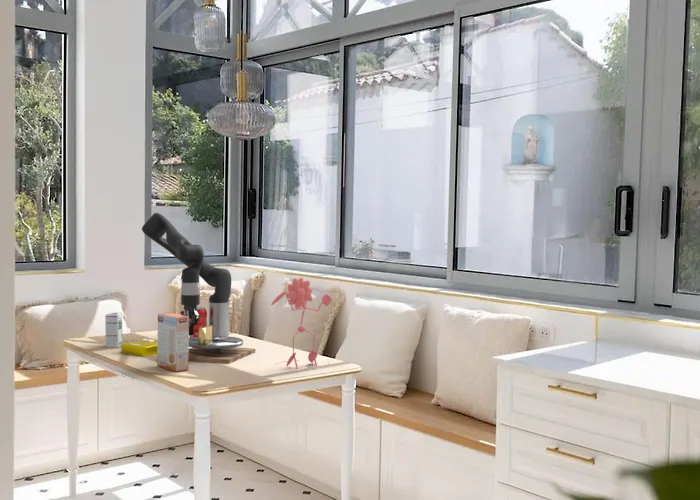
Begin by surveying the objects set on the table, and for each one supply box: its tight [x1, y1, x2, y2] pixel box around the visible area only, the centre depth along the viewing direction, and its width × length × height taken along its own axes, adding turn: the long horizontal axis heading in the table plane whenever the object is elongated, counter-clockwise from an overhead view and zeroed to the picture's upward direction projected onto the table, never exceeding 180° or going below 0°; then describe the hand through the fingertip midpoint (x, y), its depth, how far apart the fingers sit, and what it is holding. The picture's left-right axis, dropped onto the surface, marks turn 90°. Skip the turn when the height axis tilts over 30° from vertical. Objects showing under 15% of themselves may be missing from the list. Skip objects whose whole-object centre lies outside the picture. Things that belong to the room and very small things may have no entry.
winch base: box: [188, 346, 256, 364], centre depth 324 cm, size 27×26×5 cm
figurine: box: [270, 277, 332, 369], centre depth 309 cm, size 15×26×35 cm, turn 127°
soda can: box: [189, 306, 208, 339], centre depth 360 cm, size 8×8×15 cm
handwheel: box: [189, 324, 244, 349], centre depth 324 cm, size 24×24×8 cm
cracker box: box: [156, 312, 190, 373], centre depth 297 cm, size 14×6×21 cm, turn 43°
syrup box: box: [104, 312, 123, 348], centre depth 340 cm, size 6×6×14 cm
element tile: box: [121, 338, 158, 357], centre depth 329 cm, size 15×15×5 cm
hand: (190, 335), depth 318 cm, fingers closed
